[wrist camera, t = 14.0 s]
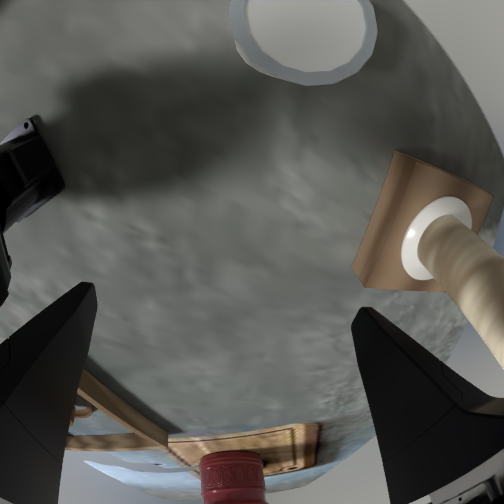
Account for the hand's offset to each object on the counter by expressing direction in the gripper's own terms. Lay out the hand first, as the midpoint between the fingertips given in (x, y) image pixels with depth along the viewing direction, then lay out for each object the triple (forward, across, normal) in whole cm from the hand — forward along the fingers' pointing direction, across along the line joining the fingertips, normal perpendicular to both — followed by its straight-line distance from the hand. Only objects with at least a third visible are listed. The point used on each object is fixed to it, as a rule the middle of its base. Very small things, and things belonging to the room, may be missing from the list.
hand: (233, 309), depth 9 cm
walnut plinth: (+13, -18, 0) cm, 22 cm away
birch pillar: (+10, -18, 0) cm, 20 cm away
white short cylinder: (+13, -2, -10) cm, 17 cm away
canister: (+13, -9, +56) cm, 58 cm away
